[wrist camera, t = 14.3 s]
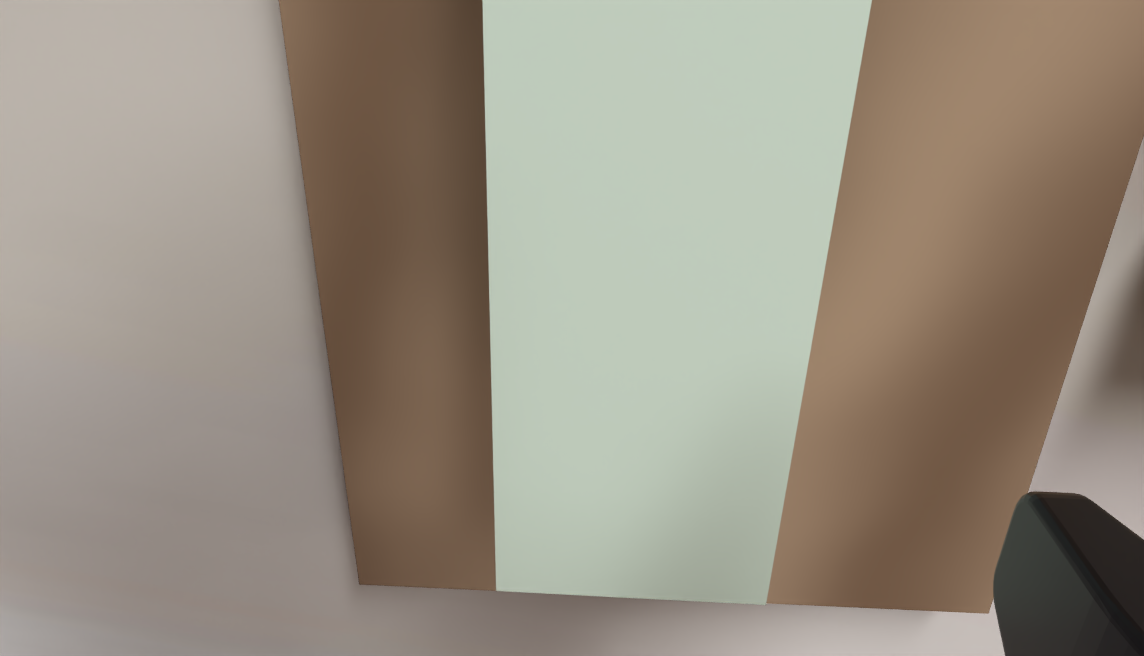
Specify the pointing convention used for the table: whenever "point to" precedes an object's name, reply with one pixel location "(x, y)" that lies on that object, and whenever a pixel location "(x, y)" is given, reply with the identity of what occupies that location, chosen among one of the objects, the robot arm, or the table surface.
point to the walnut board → (847, 301)
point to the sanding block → (656, 281)
